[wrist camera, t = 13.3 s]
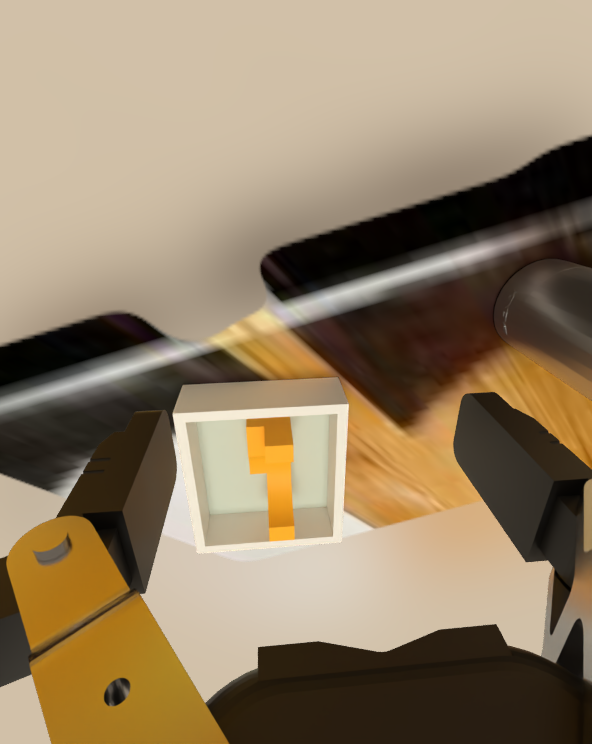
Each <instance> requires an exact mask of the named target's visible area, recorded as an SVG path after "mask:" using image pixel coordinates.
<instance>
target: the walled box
mask: <svg viewBox="0 0 592 744" xmlns="http://www.w3.org/2000/svg"><path fill="white" fill-rule="evenodd" d="M348 408H349V403H348V401H347V398H346V396H345V393H344V391H343V388H342V386H341V383H340V380H339V378H338V377H331V378H311V379H291V380H271V381H251V382H232V383H212V384H192V385H183V386H182V389H181V392H180V394H179V397H178V400H177V403H176V406H175V408H174V411H173V419H174V424H175V430H176V436H177V442H178V447H179V453H180V459H181V464H182V470H183V476H184V482H185V487H186V493H187V499H188V505H189V510H190V516H191V522H192V528H193V533H194V539H195V545H196V550H197V553H212V552H225V551H238V550H251V549H263V548H276V547H289V546H301V545H314V544H326V543H339V542H342V526H343V506H344V487H345V467H346V447H347V428H348ZM289 416H290V422H291V430H292V438H293V450H294V462H291V484H292V502H293V516H294V531H295V540H285V541H271V542H270V540H269V516H268V491H267V473H263V474H250V467H249V458H248V447H247V433H246V419H254V418H272V417H289Z"/></svg>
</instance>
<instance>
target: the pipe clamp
mask: <svg viewBox="0 0 592 744" xmlns="http://www.w3.org/2000/svg"><path fill="white" fill-rule="evenodd" d="M246 433H247V447H248V458H249V467H250V474H263V473H267V491H268V516H269V540H270V542H271V541H285V540H295V531H294V516H293V502H292V484H291V462H294V450H293V438H292V430H291V422H290V416H289V417H272V418H254V419H246Z"/></svg>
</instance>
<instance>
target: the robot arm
mask: <svg viewBox="0 0 592 744" xmlns="http://www.w3.org/2000/svg"><path fill="white" fill-rule="evenodd" d="M494 324H495V327H496V330H497V333H498V334H499V335H500V337H501V338H502V339H503V340H504V341H505V342H507V343H508V344H509V345H511V346H512V347H514V348H515V349H517V350H518V351H520V352H521V353H523V354H524V355H525V356H527V357H528V358H530V359H531V360H532V361H534V362H535V363H537V364H538V365H540V366H541V367H543V368H544V369H546V370H547V371H549V372H550V373H551V374H553V375H554V376H556V377H557V378H559V379H560V380H562V381H563V382H565V383H566V384H568V385H569V386H570V387H572V388H573V389H575V390H576V391H578V392H579V393H581V394H582V395H584V396H585V397H587V398H588V399H589V400H591V401H592V268H589V267H585V266H582V265H578V264H575V263H571V262H568V261H564V260H560V259H544V260H540V261H536V262H534V263H532V264H529V265H527V266H526V267H524V268H523V269H521V270H520V271H518V272H517V273H516V274H515V275H514V276H513V277H512V278H510V279H509V281H508V282H507V283H506V285H505V286H504V287H503V288H502V290H501V292H500V294H499V296H498V298H497V301H496V304H495V308H494ZM453 446H454V454H455V457H456V460H457V462H458V464H459V465H460V467H461V468H462V470H463V471H464V473H465V474H466V475H467V477H468V478H469V480H470V481H471V483H472V484H473V486H474V487H475V489H476V490H477V491H478V493H479V494H480V496H481V497H482V499H483V500H484V502H485V503H486V505H487V506H488V507H489V509H490V510H491V512H492V513H493V515H494V516H495V517H496V519H497V520H498V522H499V523H500V525H501V526H502V528H503V529H504V531H505V532H506V534H507V535H508V536H509V538H510V539H511V541H512V542H513V544H514V545H515V547H516V548H517V550H518V551H519V552H520V554H521V555H522V557H523V558H524V560H525V561H526V562H534V561H546V560H548V561H549V562H550V563H551V565H552V566H553V568H552V571H551V573H550V576H549V584H548V595H547V606H546V618H545V630H544V641H543V650H542V655H541V656H539V655H536V654H534V653H531V652H529V651H526V650H522V649H519V648H515V647H512V646H507V644H506V642H505V640H504V638H503V636H502V634H501V632H500V631H499V628H498V627H497V625H496V624H494V625H483V626H473V627H463V628H452V629H442V630H438V631H435V632H433V633H430V634H428V635H426V636H423V637H421V638H419V639H416V640H414V641H412V642H409V643H407V644H404V645H402V646H400V647H397V648H395V649H393V650H390V651H387V652H376V651H370V650H364V649H359V648H353V647H347V646H341V645H336V644H330V643H324V642H319V641H318V642H307V643H297V644H286V645H276V646H265V647H258V668H257V669H255V670H252V671H250V672H248V673H245V674H244V675H242V676H240V677H238V678H237V679H235V680H233V681H231V682H230V683H229V684H228V685H226V686H225V687H223V688H222V689H220V690H219V691H218V692H217V693H216V694H215V695H213V696H212V697H211V698H210V699H209V700H208V701H207V702H206V703H205V702H204V701H203V699H202V697H201V696H200V694H199V692H198V691H197V689H196V687H195V685H194V684H193V682H192V680H191V679H190V677H189V675H188V674H187V672H186V670H185V669H184V667H183V665H182V664H181V662H180V660H179V659H178V657H177V656H176V654H175V652H174V650H173V649H172V647H171V645H170V644H169V642H168V640H167V638H166V637H165V635H164V634H163V632H162V630H161V628H160V627H159V625H158V624H157V622H156V620H155V618H154V617H153V615H152V613H151V612H150V610H149V608H148V607H147V605H146V603H145V602H144V600H143V598H142V597H141V595H140V594H144V593H145V592H146V589H147V585H148V581H149V578H150V574H151V570H152V566H153V563H154V559H155V555H156V552H157V547H158V544H159V540H160V537H161V533H162V529H163V526H164V522H165V518H166V514H167V511H168V507H169V503H170V500H171V496H172V492H173V488H174V485H175V481H176V473H177V463H176V455H175V450H174V444H173V439H172V433H171V428H170V422H169V417H168V414H167V412H166V411H165V410H156V411H138V412H135V413H134V414H133V416H132V418H131V420H130V422H129V424H128V426H127V428H126V430H125V431H121V432H114V433H112V434H111V435H110V436H109V437H108V438H106V439H105V440H104V441H103V442H101V443H100V444H99V445H98V447H97V449H96V450H95V452H94V454H93V455H92V457H91V459H90V462H88V464H87V466H86V467H85V469H84V471H83V474H81V476H80V477H79V479H78V481H77V483H76V484H75V486H74V488H73V489H72V491H71V493H70V494H69V496H68V498H67V500H66V501H65V503H64V505H63V506H62V508H61V510H60V512H59V513H58V515H57V517H56V518H55V519H52V520H49V521H47V522H44V523H42V524H40V525H38V526H36V527H34V528H33V529H31V530H30V531H28V532H27V533H26V534H25V535H23V536H22V537H21V538H20V539H19V540H18V541H17V542H16V544H15V545H14V546H13V547H12V549H11V550H10V552H9V555H8V556H6V557H4V558H0V687H1V686H4V685H7V684H9V683H11V682H14V681H16V680H19V679H21V678H24V677H26V676H29V675H31V674H32V677H33V680H34V684H35V687H36V691H37V694H38V698H39V701H40V705H41V709H42V712H43V716H44V719H45V723H46V726H47V730H48V734H49V737H50V741H51V744H592V470H591V469H590V468H589V467H588V466H587V465H586V464H585V463H584V462H582V461H581V460H580V459H579V458H578V457H577V456H576V455H575V454H573V453H572V452H571V451H570V450H569V449H568V448H567V447H566V446H564V445H563V444H560V443H559V440H558V439H557V438H556V437H554V436H553V435H552V434H551V433H548V430H547V429H545V428H544V427H543V426H542V425H541V424H540V423H539V422H538V421H536V420H535V419H534V418H532V417H530V416H528V415H526V414H524V413H522V412H521V411H519V410H517V409H513V408H512V407H511V406H510V405H509V404H508V403H507V402H506V401H504V400H503V399H502V398H501V397H500V396H499V395H498V394H497V393H495V392H488V393H470V394H465V395H464V396H463V398H462V400H461V404H460V410H459V415H458V420H457V426H456V431H455V436H454V443H453Z"/></svg>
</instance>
